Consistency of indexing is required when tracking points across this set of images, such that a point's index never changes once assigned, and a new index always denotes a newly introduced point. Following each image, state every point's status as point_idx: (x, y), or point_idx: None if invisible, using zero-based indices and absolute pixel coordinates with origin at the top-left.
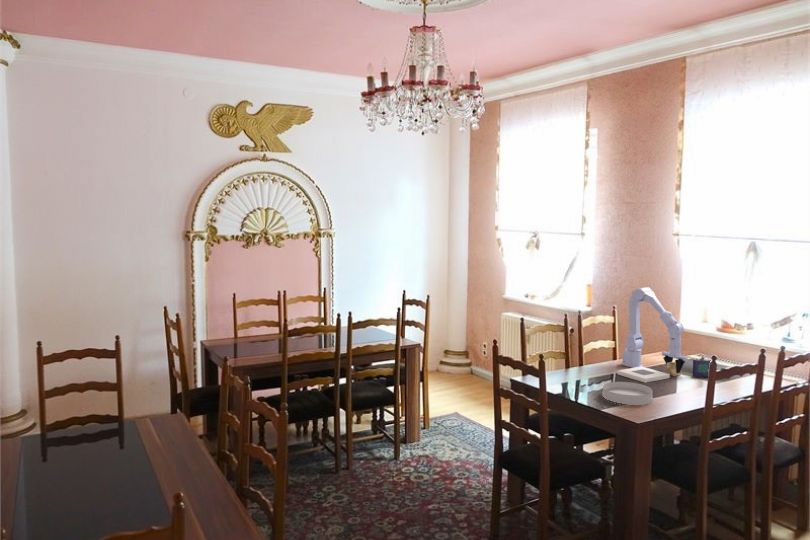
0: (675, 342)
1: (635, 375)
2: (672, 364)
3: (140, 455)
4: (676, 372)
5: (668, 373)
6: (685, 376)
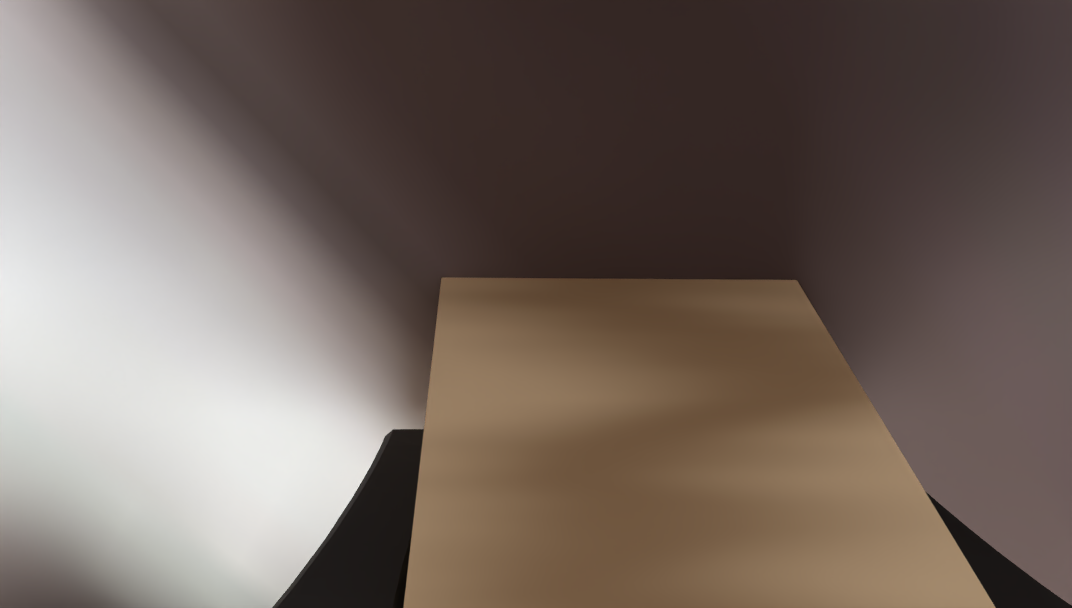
0: None
1: None
2: (584, 603)
3: None
4: None
5: (714, 296)
6: (239, 511)
